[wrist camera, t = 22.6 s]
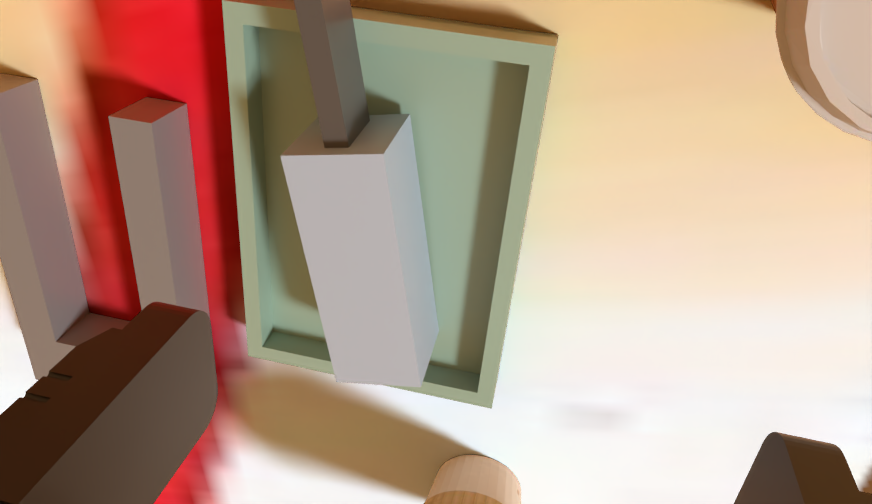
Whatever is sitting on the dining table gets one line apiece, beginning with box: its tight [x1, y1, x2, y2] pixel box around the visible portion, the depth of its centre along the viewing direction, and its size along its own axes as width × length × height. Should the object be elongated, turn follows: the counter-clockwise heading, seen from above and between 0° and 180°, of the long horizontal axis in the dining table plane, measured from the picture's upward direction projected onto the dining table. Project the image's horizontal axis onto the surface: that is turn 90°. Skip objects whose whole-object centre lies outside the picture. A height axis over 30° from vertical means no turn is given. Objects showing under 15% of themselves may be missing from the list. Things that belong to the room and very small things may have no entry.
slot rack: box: [0, 73, 210, 380], centre depth 42 cm, size 21×12×4 cm, turn 175°
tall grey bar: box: [280, 0, 439, 387], centre depth 34 cm, size 22×5×5 cm, turn 6°
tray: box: [222, 0, 558, 408], centre depth 37 cm, size 22×16×2 cm
